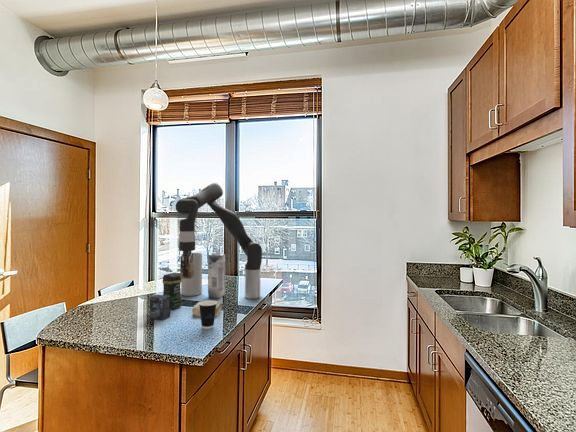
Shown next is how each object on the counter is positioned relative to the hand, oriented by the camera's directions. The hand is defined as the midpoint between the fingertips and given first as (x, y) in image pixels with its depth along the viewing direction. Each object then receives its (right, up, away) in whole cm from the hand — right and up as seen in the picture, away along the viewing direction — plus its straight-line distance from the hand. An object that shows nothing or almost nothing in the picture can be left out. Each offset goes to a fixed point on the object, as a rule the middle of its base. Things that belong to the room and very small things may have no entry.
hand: (187, 275), depth 159 cm
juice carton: (+5, -21, +41) cm, 46 cm away
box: (-13, -21, 0) cm, 25 cm away
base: (+8, -21, +9) cm, 24 cm away
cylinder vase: (-12, -20, +47) cm, 53 cm away
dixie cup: (+13, -21, -12) cm, 27 cm away
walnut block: (0, -1, 0) cm, 1 cm away
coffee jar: (-13, -21, +17) cm, 30 cm away
